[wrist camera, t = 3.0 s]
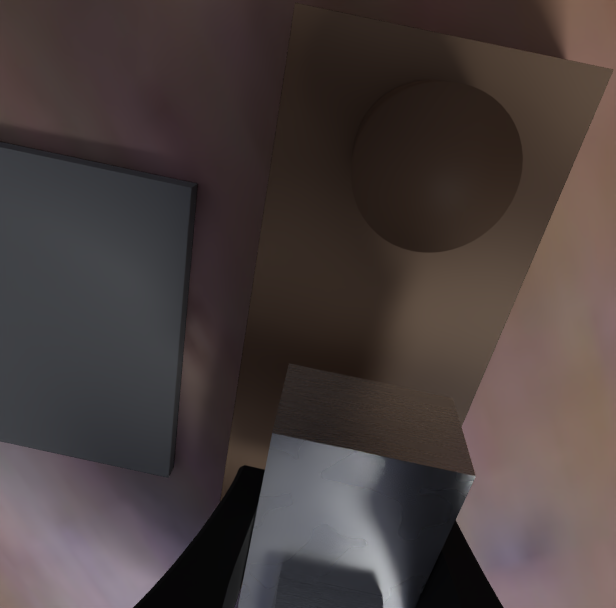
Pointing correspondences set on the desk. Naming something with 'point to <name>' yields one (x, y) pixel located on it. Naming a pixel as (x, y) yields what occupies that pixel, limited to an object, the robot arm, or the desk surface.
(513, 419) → the desk surface
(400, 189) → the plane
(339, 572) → the lever cap
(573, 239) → the desk surface
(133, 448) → the mat
